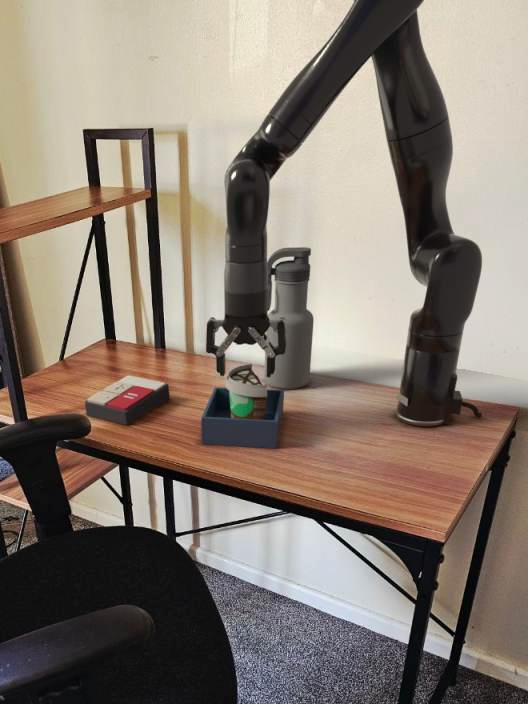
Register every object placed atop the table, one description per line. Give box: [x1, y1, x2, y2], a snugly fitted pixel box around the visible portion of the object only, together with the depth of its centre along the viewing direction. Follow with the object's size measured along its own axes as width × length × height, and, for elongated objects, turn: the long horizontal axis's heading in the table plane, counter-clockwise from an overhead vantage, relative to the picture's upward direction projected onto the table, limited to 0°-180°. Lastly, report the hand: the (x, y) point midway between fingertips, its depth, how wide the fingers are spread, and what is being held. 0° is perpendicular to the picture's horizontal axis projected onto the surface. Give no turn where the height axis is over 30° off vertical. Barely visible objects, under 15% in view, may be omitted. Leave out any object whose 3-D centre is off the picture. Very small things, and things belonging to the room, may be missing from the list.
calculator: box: [84, 374, 170, 426], centre depth 147 cm, size 11×4×15 cm
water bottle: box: [263, 246, 315, 390], centre depth 148 cm, size 10×10×28 cm
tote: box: [200, 386, 285, 449], centre depth 135 cm, size 14×15×5 cm
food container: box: [225, 363, 268, 420], centre depth 133 cm, size 12×6×10 cm, turn 6°
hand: (245, 375), depth 131 cm, fingers open, 8 cm apart
